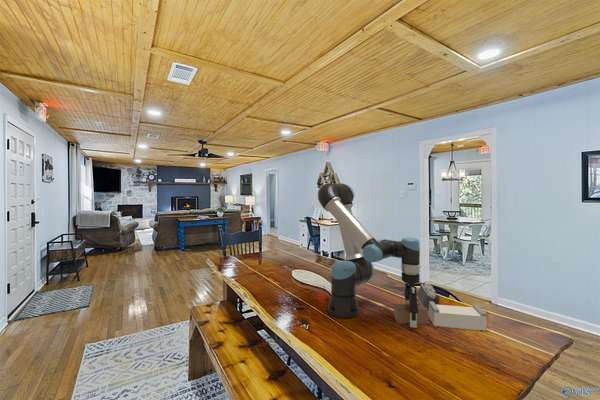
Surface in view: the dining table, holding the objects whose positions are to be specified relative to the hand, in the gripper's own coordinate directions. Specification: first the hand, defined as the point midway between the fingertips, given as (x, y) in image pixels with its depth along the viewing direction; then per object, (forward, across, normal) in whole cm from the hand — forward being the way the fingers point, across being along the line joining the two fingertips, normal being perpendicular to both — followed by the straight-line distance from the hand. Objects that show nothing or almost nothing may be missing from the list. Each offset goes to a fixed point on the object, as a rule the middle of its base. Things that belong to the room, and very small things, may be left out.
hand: (410, 320), depth 121 cm
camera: (0, +21, -12) cm, 24 cm away
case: (0, 0, 0) cm, 0 cm away
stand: (0, +1, -19) cm, 19 cm away
